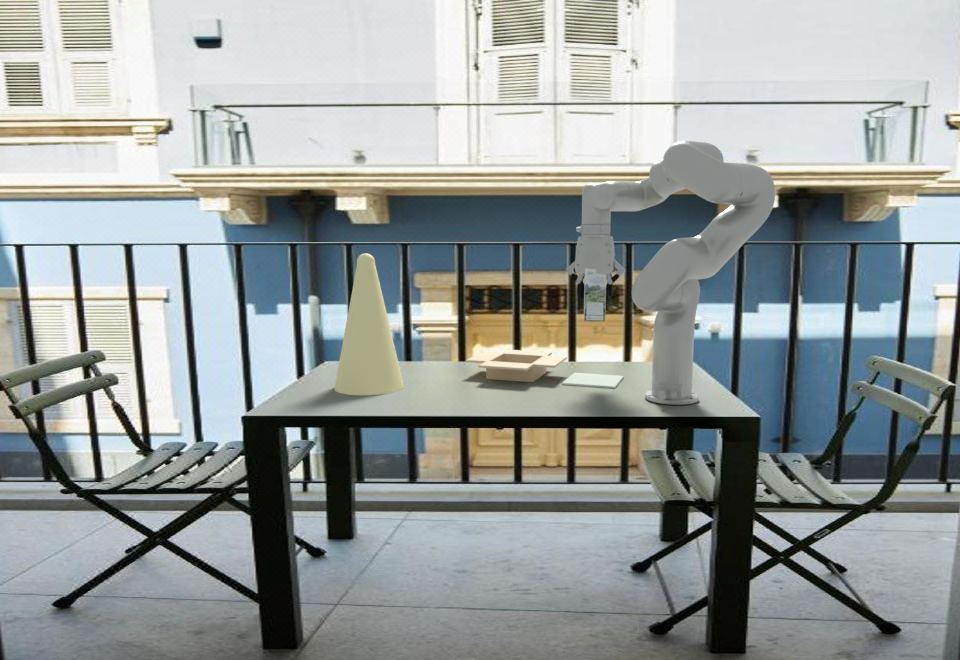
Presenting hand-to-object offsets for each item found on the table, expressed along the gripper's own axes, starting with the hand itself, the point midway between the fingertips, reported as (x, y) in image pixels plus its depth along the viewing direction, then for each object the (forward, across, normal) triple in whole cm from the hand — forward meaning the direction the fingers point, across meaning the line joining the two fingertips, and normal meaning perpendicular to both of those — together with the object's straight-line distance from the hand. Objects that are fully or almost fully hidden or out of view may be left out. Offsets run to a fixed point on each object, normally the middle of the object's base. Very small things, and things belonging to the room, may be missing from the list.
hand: (594, 297), depth 189 cm
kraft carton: (+23, -22, 0) cm, 32 cm away
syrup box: (+6, 0, 0) cm, 6 cm away
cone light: (+23, -56, -24) cm, 65 cm away
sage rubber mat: (+23, 0, 0) cm, 23 cm away
